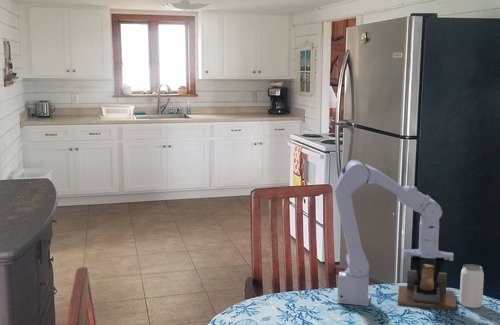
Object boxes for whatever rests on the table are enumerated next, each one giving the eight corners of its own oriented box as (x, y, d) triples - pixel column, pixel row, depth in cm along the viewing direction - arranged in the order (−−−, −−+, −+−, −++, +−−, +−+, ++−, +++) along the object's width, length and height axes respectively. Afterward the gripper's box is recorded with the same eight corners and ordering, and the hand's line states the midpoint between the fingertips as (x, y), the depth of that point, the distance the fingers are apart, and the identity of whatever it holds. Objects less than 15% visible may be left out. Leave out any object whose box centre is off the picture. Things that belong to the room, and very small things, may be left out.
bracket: (397, 304, 170) (398, 282, 169) (399, 289, 183) (399, 268, 182) (456, 310, 166) (457, 287, 164) (453, 294, 178) (454, 273, 177)
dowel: (419, 289, 171) (420, 267, 170) (420, 284, 174) (421, 263, 173) (433, 291, 169) (434, 269, 168) (433, 286, 173) (434, 264, 172)
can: (484, 309, 166) (486, 271, 164) (461, 308, 167) (463, 270, 166) (479, 301, 172) (481, 264, 170) (457, 299, 174) (459, 263, 172)
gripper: (403, 240, 168) (402, 282, 170) (454, 243, 164) (452, 287, 166) (404, 233, 175) (403, 274, 177) (453, 237, 170) (451, 279, 172)
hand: (427, 280), depth 172 cm, fingers closed on dowel, 4 cm apart
